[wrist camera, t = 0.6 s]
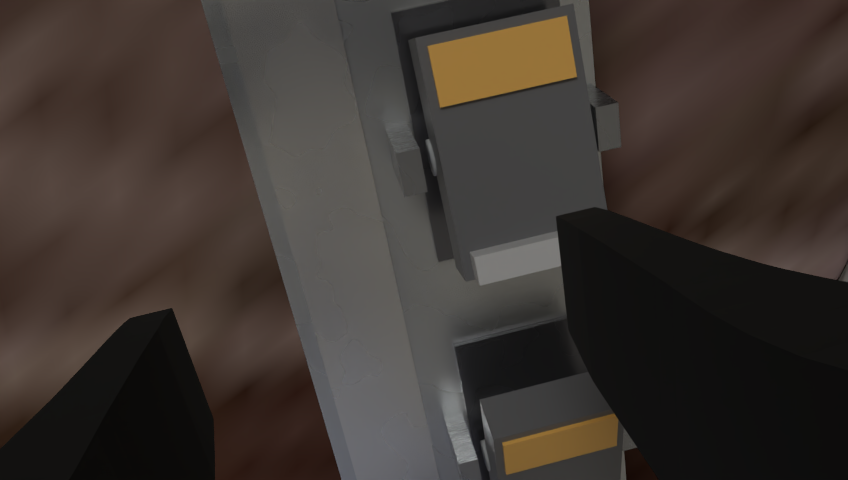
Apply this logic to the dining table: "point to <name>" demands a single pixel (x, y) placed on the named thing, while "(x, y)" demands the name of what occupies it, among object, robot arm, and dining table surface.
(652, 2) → the dining table surface
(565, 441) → the rocker
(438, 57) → the rocker
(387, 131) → the power strip
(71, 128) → the dining table surface
